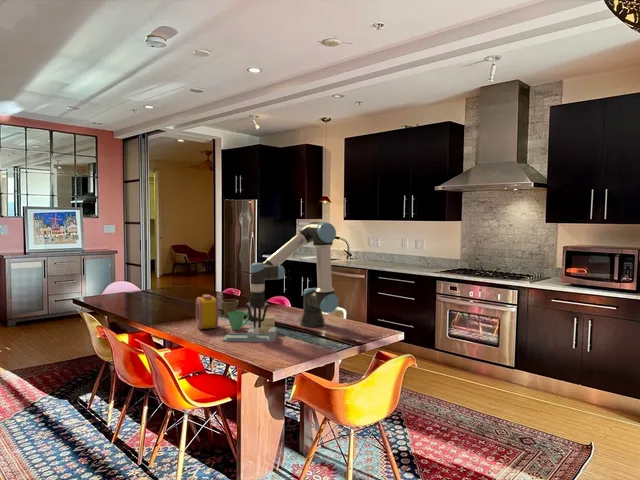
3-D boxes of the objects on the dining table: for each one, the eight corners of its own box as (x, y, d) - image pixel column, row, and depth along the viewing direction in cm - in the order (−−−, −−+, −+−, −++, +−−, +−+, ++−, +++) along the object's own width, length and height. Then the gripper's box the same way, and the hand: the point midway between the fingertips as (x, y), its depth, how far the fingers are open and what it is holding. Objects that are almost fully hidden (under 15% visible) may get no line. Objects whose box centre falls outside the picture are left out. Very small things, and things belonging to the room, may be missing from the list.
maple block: (259, 331, 268) (259, 316, 267) (274, 331, 268) (274, 316, 268) (258, 333, 263) (258, 318, 262) (273, 333, 263) (273, 318, 263)
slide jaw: (249, 334, 255) (249, 328, 255) (254, 334, 255) (254, 328, 255) (247, 338, 246) (247, 332, 246) (252, 338, 247) (252, 332, 246)
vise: (226, 336, 256) (226, 326, 255) (276, 337, 256) (276, 327, 256) (222, 341, 246) (222, 331, 245) (274, 341, 246) (275, 331, 246)
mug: (234, 332, 265) (234, 315, 265) (224, 329, 272) (224, 312, 272) (254, 327, 276) (254, 311, 276) (244, 325, 283) (244, 309, 282)
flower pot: (239, 316, 306) (239, 301, 305) (221, 317, 303) (221, 302, 302) (237, 313, 317) (237, 298, 316) (221, 313, 314) (221, 299, 313)
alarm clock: (195, 324, 282) (195, 293, 281) (213, 323, 286) (213, 292, 285) (199, 331, 265) (199, 298, 264) (218, 330, 269) (218, 297, 268)
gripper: (244, 292, 246) (244, 335, 247) (268, 292, 246) (268, 335, 247) (246, 289, 253) (246, 331, 254) (270, 290, 253) (269, 332, 255)
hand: (257, 333), depth 251 cm, fingers closed
